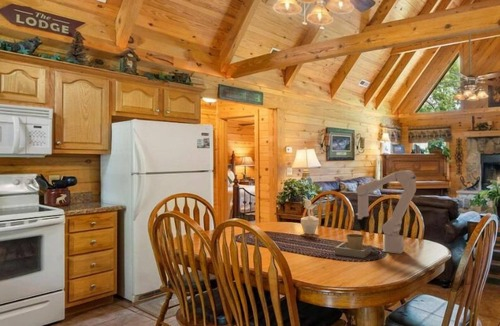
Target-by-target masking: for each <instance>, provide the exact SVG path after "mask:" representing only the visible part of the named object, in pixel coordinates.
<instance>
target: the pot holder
mask: <svg viewBox="0 0 500 326" xmlns="http://www.w3.org/2000/svg"><path fill="white" fill-rule="evenodd" d="M346 244H347V243H346V241H343V242H342V243H340V244H338V245H336V246H335V247H334V255H339V256H345V257H346V256H347V257H353V258H360V259H365V258H366V257H367V256H369V255H370V254H371V253H372V245H368V246H365V248H362V250H356V249H349V247H347V245H346Z"/></svg>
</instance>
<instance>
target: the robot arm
mask: <svg viewBox="0 0 500 326" xmlns="http://www.w3.org/2000/svg"><path fill="white" fill-rule="evenodd" d="M393 181H394V182H398V183H399V184H400V185H401V186H402V188H403V192H402V193H401V196H400V197H399V200H398V202H397V204H396V206H395V208H394V210H393V211H392V214H391V216H390V217H389V218H388V219H387V221H386V222H385V223H383V225H382V226H381V230H382V232H383V236H384V237H383V239H384V241H383V243H384V246H383V247H384V248H383V249H382V250H381V252H383V253H390V254H392V253H393V254H399V255H401V254H402V253H403V252H404V251H405V250H404V244H405V243H404V239H405V238H404V235H402V234H401V235H400V231H401V229H402V223H403V221H402V220H403V218H404V215H405V214H406V211H407V209H408V207H409V206H410V203H411V202H412V199H413V197H414V196H415V194H416V191H417V182H416V181H417V175H416V174H415V172H414V171H413V170H411V169H407V170H405V169H404V170H399V171H395V172H392V173H390V174H388V175H385V176H384V177H382V178H380V179H377V178H371V179H370V181H368V182H366V181H365V182H363V184H359V185H357V186H356V188H355V192H356V194H357V213H355V216H357V217H356V218H357V221H358V223H359V228H360V231H366V229H367V225H368V222H369V219H370V217H369V216H370V214H369V195H370V194H371V193H373V192H375V191H377V190H380V189H381V187H382V186H383V185H385V184H388V183H391V182H393Z"/></svg>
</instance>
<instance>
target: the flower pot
mask: <svg viewBox="0 0 500 326" xmlns="http://www.w3.org/2000/svg"><path fill="white" fill-rule="evenodd" d="M345 237H346V239H347V244H348V249H356V250H363V243H364V242H363V241H364V238H365V235H363V234H358V233H348V234H345Z"/></svg>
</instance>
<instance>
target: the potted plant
mask: <svg viewBox="0 0 500 326" xmlns="http://www.w3.org/2000/svg"><path fill="white" fill-rule="evenodd" d="M302 200H303V201H304V207H305V208H306V210H307V216H304V217H301V218H300V225H301V226H302V229H303V232H304V234H306V235H314V234H315V233H316V231H317V228H318V226H319V225H320V219H319V218H318V217H316V216H313V215H311V211H312V210H313V209H314V208H315V207H317V206H318V204H312V201H311V200H310V199H307V198H305V197H303V198H302ZM300 204H302V201H300Z"/></svg>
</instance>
